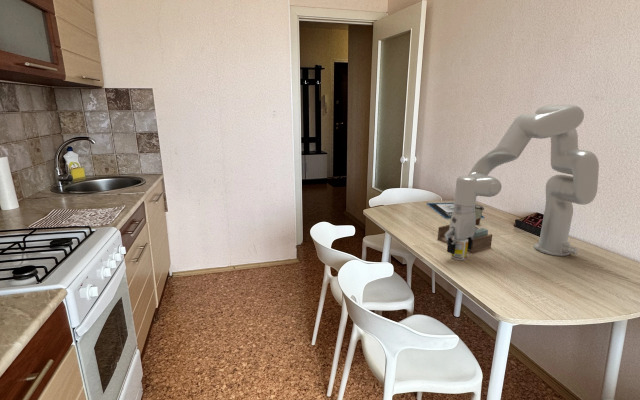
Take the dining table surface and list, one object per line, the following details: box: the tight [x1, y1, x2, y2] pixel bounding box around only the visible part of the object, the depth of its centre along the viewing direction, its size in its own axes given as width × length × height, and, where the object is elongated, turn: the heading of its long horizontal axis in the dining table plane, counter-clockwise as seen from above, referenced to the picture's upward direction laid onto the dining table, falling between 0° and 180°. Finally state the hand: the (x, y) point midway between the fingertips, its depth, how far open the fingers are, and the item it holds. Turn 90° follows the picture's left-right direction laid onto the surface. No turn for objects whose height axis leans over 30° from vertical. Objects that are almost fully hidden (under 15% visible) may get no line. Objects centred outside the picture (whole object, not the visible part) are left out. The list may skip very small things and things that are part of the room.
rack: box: [437, 224, 493, 255], centre depth 151 cm, size 18×12×8 cm, turn 30°
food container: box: [475, 203, 485, 226], centre depth 179 cm, size 12×6×10 cm, turn 84°
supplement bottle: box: [451, 238, 468, 261], centre depth 137 cm, size 6×6×10 cm
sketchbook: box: [426, 201, 485, 220], centre depth 202 cm, size 22×30×2 cm
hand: (459, 250), depth 137 cm, fingers open, 9 cm apart
